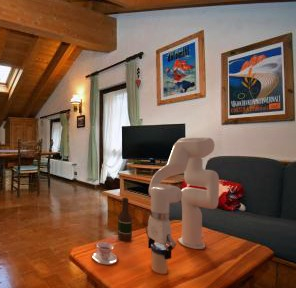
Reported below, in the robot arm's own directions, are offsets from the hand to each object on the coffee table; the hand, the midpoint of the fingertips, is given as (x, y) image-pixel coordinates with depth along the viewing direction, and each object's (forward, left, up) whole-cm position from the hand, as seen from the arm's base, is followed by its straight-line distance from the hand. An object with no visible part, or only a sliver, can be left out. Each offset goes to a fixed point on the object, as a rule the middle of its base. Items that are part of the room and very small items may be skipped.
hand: (159, 253), depth 97 cm
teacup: (+15, -19, -8) cm, 25 cm away
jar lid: (0, 0, +3) cm, 3 cm away
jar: (0, 0, -7) cm, 7 cm away
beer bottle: (-10, -29, -8) cm, 32 cm away
